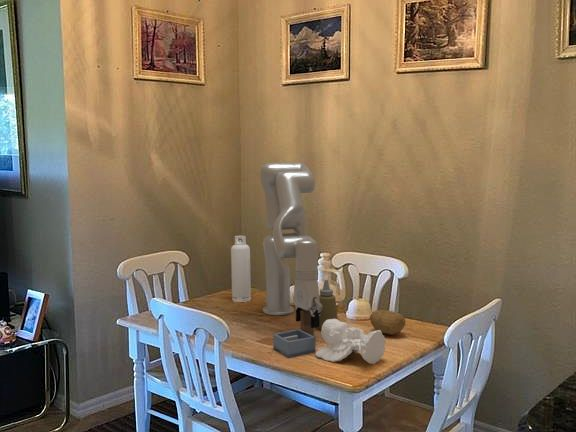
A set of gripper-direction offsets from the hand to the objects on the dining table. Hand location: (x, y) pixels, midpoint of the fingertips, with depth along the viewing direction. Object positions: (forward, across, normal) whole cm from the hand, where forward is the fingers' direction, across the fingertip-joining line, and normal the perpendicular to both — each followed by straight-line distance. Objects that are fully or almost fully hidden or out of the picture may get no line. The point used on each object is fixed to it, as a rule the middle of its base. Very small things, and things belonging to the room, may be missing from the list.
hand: (307, 324), depth 208 cm
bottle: (+4, -60, +3) cm, 60 cm away
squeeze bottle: (+5, -7, +12) cm, 15 cm away
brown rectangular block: (+5, -1, 0) cm, 5 cm away
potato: (+6, +9, +27) cm, 29 cm away
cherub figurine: (+6, +23, +1) cm, 24 cm away
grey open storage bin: (+5, +7, -10) cm, 13 cm away
